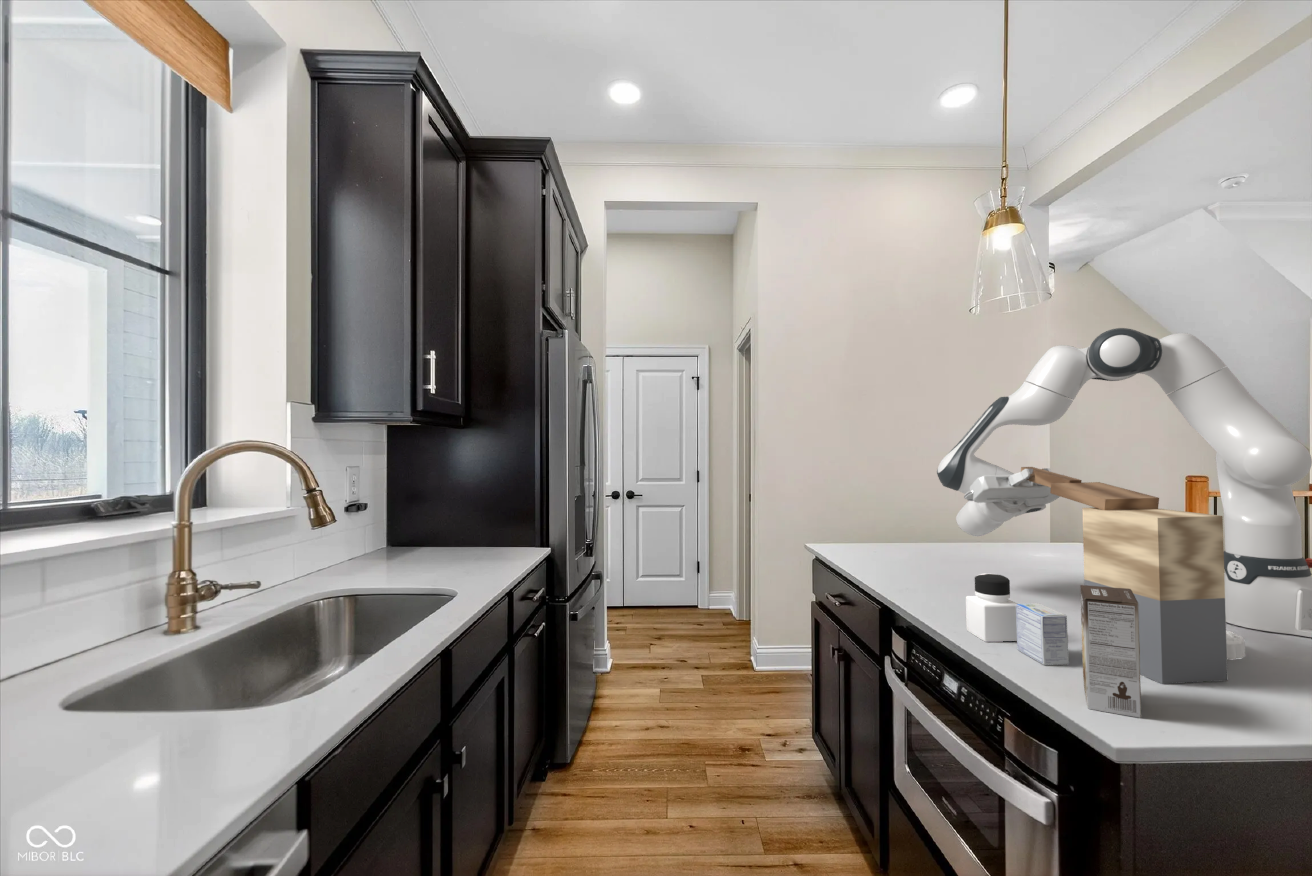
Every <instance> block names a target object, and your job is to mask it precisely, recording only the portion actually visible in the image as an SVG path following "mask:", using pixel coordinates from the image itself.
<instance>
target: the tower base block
mask: <svg viewBox="0 0 1312 876" xmlns="http://www.w3.org/2000/svg"><path fill="white" fill-rule="evenodd" d="M1083 579H1084V578H1083ZM1083 582H1084V584H1083V585H1088V586H1100V587H1109V586H1106V585H1102V584H1099V583H1095V582H1092V581H1088V580H1085V579H1084V581H1083ZM1112 588H1113V587H1112ZM1133 594H1134V593H1133ZM1134 596H1135V598H1136V600H1137V601H1138V603H1139V642H1140V676H1143V677H1144V678H1145V677H1146V678H1147V679H1150V680H1151V681H1155V682H1157V683H1159V684H1161V685H1167V684H1168V685H1169V684H1171V685H1172V684H1173V685H1174V684H1188V683H1187V682H1193V683H1204V682H1203V681H1212V682H1227V681H1228V659H1227V647H1226V630H1227V624H1226V623H1227V622H1226V614H1225V598H1216V599H1192V600H1167V601H1159V600H1155V599H1152V598H1148V597H1145V596H1141V595H1138V594H1134ZM1184 682H1186V683H1184Z"/></svg>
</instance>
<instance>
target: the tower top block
mask: <svg viewBox="0 0 1312 876" xmlns="http://www.w3.org/2000/svg"><path fill="white" fill-rule="evenodd" d="M1081 510H1082V539H1083V540H1082V541H1083V543H1082V544H1083V548H1082V549H1083V579H1085V580H1088V581H1092V582H1095V583H1099V584H1102V585H1106V586H1109V587H1113V588H1126V589H1131V590H1132V592H1133V593H1134V594H1138V595H1141V596H1145V597H1148V598H1152V599H1155V600H1159V601H1167V600H1192V599H1216V598H1225V581H1224V574H1225V569H1224V551H1225V548H1224V524H1223V523H1224V521H1223V520H1224V515H1217V514H1209V513H1203V512H1202V513H1200V512H1191V511H1182V510H1176V509H1175V510H1173V509H1165V508H1158V509H1138V510H1101V509H1098V508H1095V507H1082V509H1081Z"/></svg>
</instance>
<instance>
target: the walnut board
mask: <svg viewBox="0 0 1312 876" xmlns="http://www.w3.org/2000/svg"><path fill="white" fill-rule="evenodd" d="M1024 469H1033V472H1034V474H1035V475H1034V477H1032V478H1031V479H1026V480H1028V481H1031V482H1034V483H1038V484H1041V485H1044V486H1048V487H1051V491H1050V493H1051V494H1054V495H1057V496H1060V497H1059V498H1065V499H1068V500H1070V501H1074V502H1077V503H1079V504H1083V505H1086V506H1088V507H1091V508H1098V509H1101V510H1138V509H1159V504H1160V503H1159V502H1160V497H1159V496H1158V497H1157V496H1154V495H1150V494H1147V493H1143V492H1139V491H1134V490H1131V489H1126V488H1123V487H1120V486H1115V485H1112V484H1107V483H1104V482H1100V481H1093V482H1092V481H1091V482H1088V481H1087V482H1083V481H1082V479H1079V478H1075V477H1071V476H1067V475H1064V474H1063V475H1061V474H1062V473H1057V472H1053V471H1051V472H1050V471H1046V470H1042V469H1043V468H1038V467H1034V466H1021V467H1020V472H1021V471H1023V470H1024Z"/></svg>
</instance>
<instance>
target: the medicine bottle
mask: <svg viewBox="0 0 1312 876" xmlns="http://www.w3.org/2000/svg"><path fill="white" fill-rule="evenodd" d="M1010 585H1011V582H1010V579H1009V578H1008V577H1006V576H1004V575H1002V574H998V573H980V574H977V575H975V576H974V595H967V596H965V615H966V617H965V619H966V621H965V622H966V631H967V632H968V633H970V634H971V633H972V635H973V636H975V637H977V638H978V639H980V640H981V641H983V642H985V643H1001V642H1003V641H1017V626H1016V604H1019V603H1017V602H1015V601H1013V600H1010V598H1011V586H1010Z"/></svg>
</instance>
